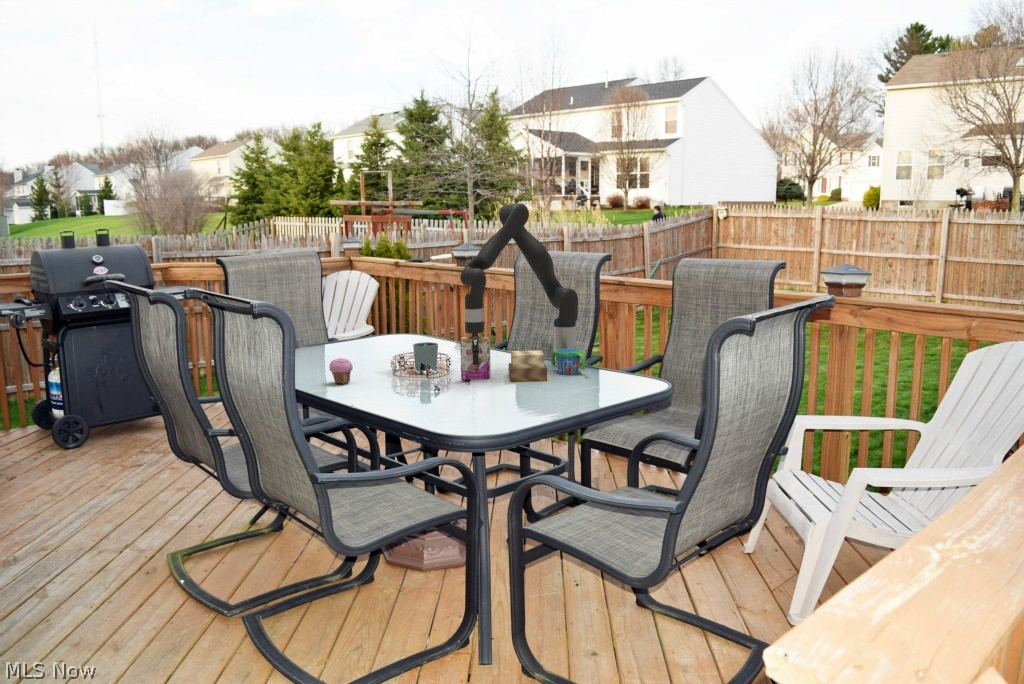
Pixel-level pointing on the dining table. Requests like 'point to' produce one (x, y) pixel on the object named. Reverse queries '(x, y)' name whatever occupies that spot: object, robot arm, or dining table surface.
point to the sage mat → (507, 381)
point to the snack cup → (568, 361)
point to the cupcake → (341, 370)
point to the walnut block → (527, 374)
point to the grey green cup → (425, 355)
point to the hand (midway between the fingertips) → (475, 363)
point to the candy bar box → (467, 365)
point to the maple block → (527, 359)
